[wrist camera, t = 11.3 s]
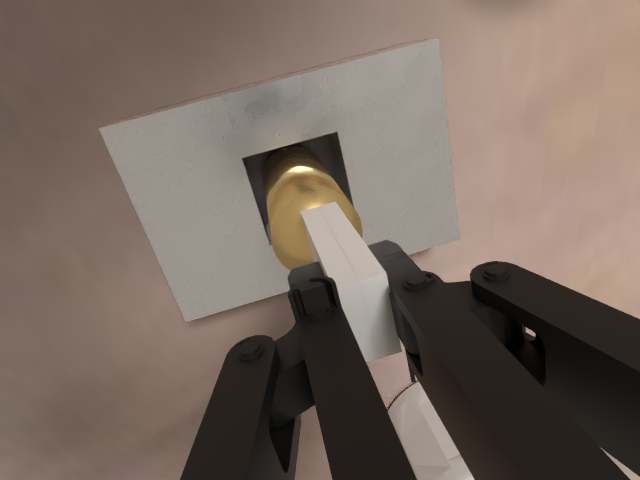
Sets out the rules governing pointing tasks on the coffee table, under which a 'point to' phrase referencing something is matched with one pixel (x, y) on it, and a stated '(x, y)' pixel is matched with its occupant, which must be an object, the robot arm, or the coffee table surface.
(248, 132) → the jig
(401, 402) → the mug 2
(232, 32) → the coffee table surface
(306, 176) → the brass cylinder rod
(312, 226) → the robot arm
